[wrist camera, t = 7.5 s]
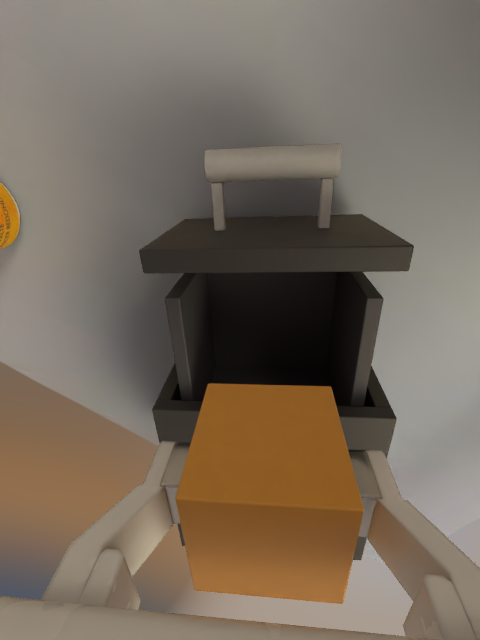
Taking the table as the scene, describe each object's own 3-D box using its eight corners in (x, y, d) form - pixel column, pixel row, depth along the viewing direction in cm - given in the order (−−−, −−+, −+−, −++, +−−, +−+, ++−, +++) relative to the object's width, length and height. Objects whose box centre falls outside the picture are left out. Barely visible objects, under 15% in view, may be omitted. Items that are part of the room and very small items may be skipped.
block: (331, 385, 10) (365, 510, 7) (321, 470, 12) (343, 605, 9) (207, 382, 11) (173, 498, 7) (216, 465, 13) (193, 591, 9)
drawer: (177, 154, 21) (119, 150, 13) (372, 144, 20) (439, 133, 12) (201, 366, 29) (175, 444, 21) (342, 369, 27) (370, 453, 20)
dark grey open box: (193, 323, 28) (151, 409, 18) (352, 325, 26) (397, 418, 17) (207, 438, 34) (181, 546, 25) (335, 444, 33) (361, 560, 23)
